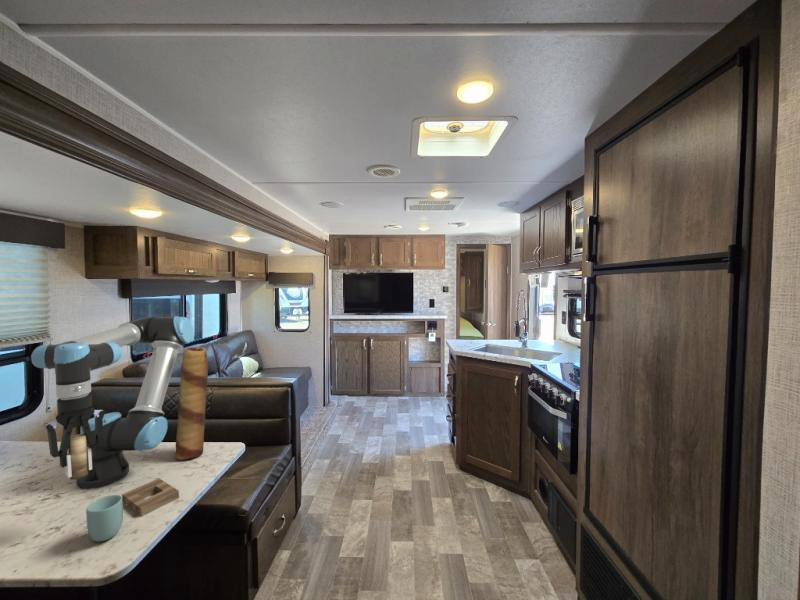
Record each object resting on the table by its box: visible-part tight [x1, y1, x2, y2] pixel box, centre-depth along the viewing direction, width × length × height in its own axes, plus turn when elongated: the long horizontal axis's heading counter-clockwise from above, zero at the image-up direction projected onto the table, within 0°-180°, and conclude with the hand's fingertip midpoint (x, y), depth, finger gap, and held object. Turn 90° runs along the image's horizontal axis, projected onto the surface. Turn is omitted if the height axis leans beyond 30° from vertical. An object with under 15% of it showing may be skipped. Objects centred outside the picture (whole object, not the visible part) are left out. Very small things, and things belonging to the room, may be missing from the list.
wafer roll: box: [175, 346, 209, 461], centre depth 146 cm, size 10×11×45 cm
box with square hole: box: [121, 478, 180, 517], centre depth 117 cm, size 14×11×2 cm
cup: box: [85, 494, 124, 543], centre depth 100 cm, size 8×8×10 cm
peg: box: [67, 434, 88, 480], centre depth 104 cm, size 4×4×12 cm
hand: (79, 471), depth 104 cm, fingers closed on peg, 4 cm apart
